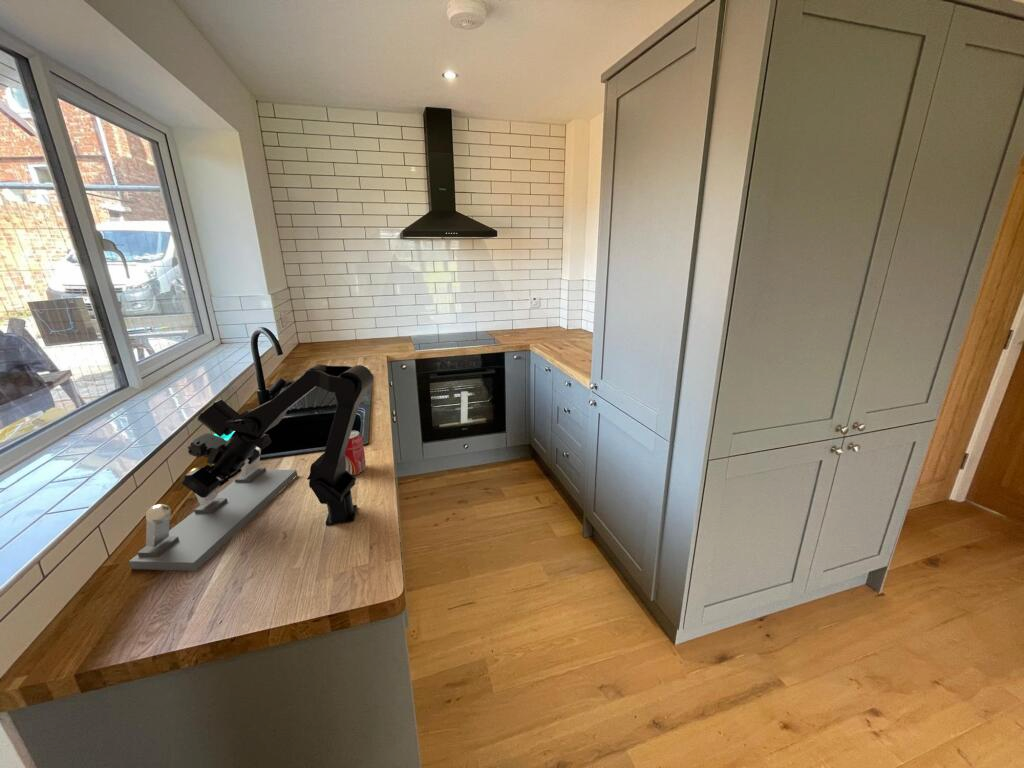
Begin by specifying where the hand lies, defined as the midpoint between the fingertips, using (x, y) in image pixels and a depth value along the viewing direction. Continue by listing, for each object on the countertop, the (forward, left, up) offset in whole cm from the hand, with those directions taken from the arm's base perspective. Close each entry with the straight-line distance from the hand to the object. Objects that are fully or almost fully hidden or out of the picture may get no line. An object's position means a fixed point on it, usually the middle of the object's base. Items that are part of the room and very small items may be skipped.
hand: (207, 488), depth 101 cm
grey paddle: (+15, -4, -4) cm, 16 cm away
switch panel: (-1, -4, -7) cm, 8 cm away
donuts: (+29, +6, -8) cm, 31 cm away
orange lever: (0, 0, -4) cm, 4 cm away
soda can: (+14, -32, -8) cm, 35 cm away
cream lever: (-14, +4, -4) cm, 16 cm away
